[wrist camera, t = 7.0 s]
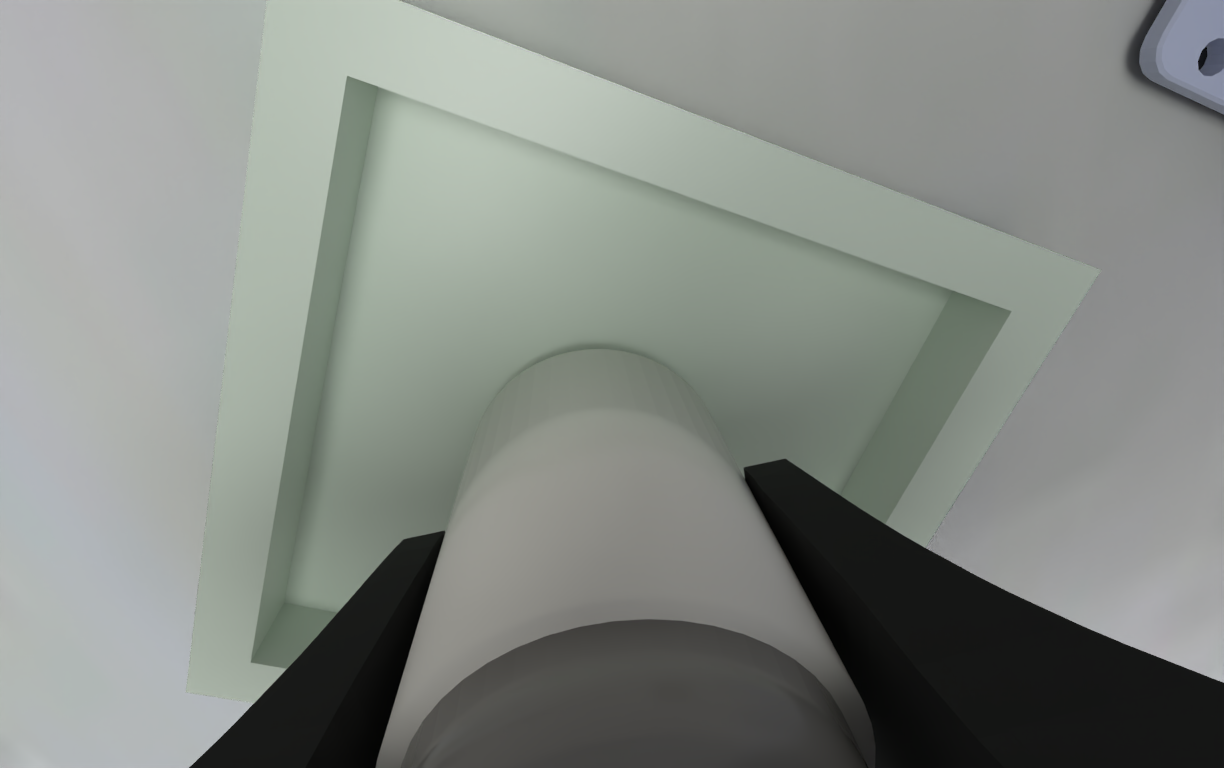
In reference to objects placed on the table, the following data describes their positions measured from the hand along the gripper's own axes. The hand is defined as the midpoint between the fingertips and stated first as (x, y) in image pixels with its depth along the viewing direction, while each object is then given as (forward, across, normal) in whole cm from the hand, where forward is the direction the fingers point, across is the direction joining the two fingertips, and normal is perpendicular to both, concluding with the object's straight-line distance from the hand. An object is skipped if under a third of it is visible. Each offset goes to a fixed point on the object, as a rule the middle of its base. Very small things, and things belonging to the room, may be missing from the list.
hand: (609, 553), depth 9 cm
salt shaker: (+2, 0, 0) cm, 2 cm away
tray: (+3, 0, 0) cm, 3 cm away
